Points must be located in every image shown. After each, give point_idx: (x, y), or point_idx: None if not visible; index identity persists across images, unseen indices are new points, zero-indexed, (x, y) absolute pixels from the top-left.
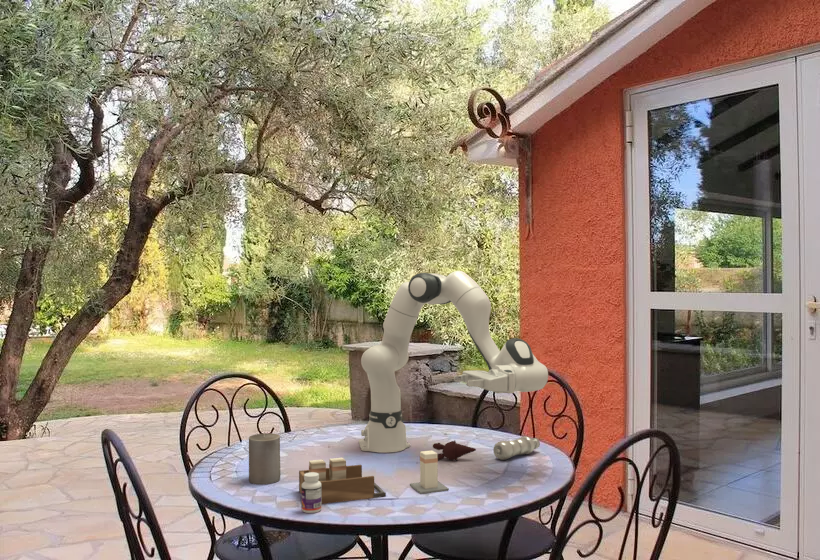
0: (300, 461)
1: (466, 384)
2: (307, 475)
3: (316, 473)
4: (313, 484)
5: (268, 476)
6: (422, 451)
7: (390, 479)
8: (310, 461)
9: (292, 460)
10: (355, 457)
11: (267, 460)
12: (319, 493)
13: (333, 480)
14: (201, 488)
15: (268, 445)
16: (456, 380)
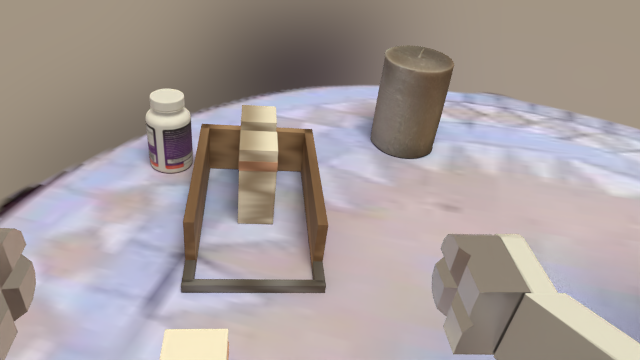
0: (556, 205)
1: (33, 270)
2: (162, 90)
3: (166, 100)
4: (150, 111)
5: (374, 129)
6: (225, 337)
7: (351, 349)
8: (267, 107)
9: (564, 195)
10: (630, 319)
11: (379, 97)
12: (150, 136)
13: (200, 155)
14: (368, 88)
15: (385, 69)
16: (435, 276)
